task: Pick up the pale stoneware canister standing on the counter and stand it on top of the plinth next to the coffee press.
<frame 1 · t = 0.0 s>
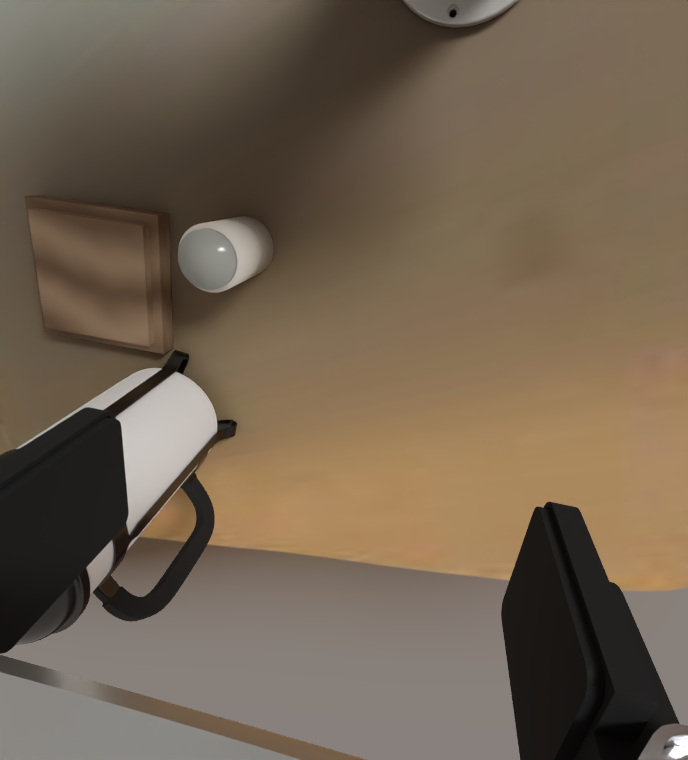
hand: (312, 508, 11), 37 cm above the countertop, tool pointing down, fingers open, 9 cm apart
coffee press: (187, 414, 55), on the countertop
canister: (246, 246, 46), on the countertop
plinth: (109, 274, 50), on the countertop
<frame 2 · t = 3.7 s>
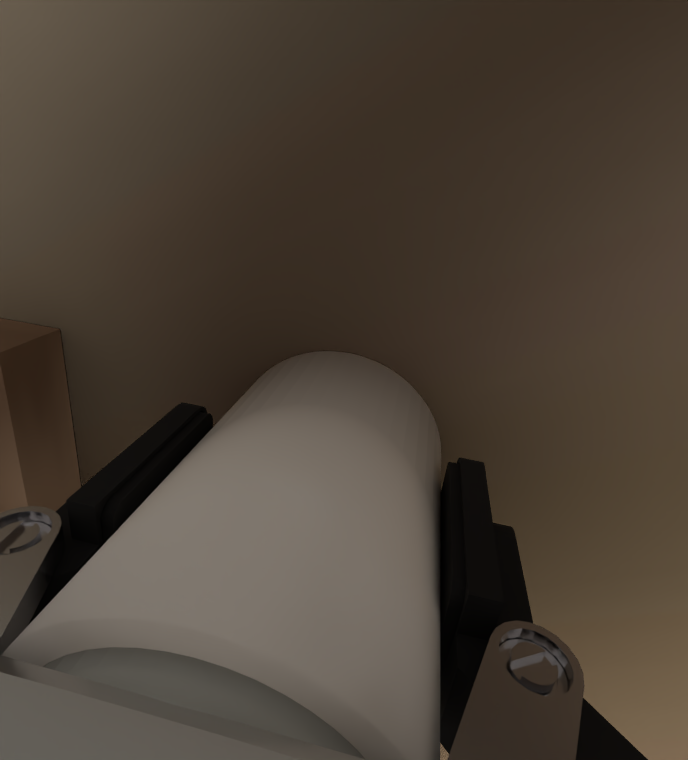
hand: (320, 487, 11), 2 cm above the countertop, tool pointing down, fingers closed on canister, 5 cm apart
canister: (335, 449, 13), on the countertop, touching gripper
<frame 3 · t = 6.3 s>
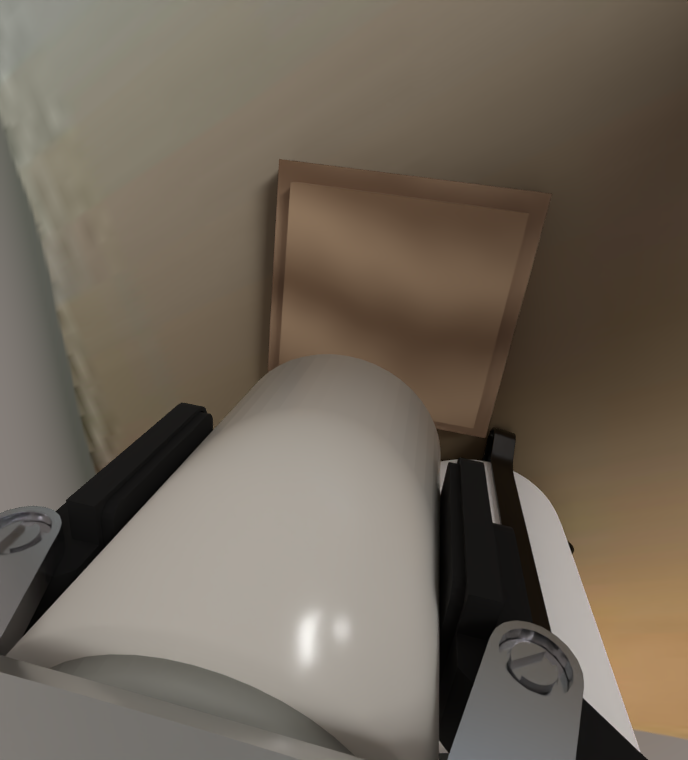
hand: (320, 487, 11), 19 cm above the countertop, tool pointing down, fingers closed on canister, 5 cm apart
coffee press: (476, 523, 34), on the countertop
canister: (334, 452, 13), point 18 cm above the countertop, touching gripper
plinth: (392, 300, 29), on the countertop
when the fingers open (6 cm above the countertop, at t = 9.3 s): canister stays where it is, resting on plinth.
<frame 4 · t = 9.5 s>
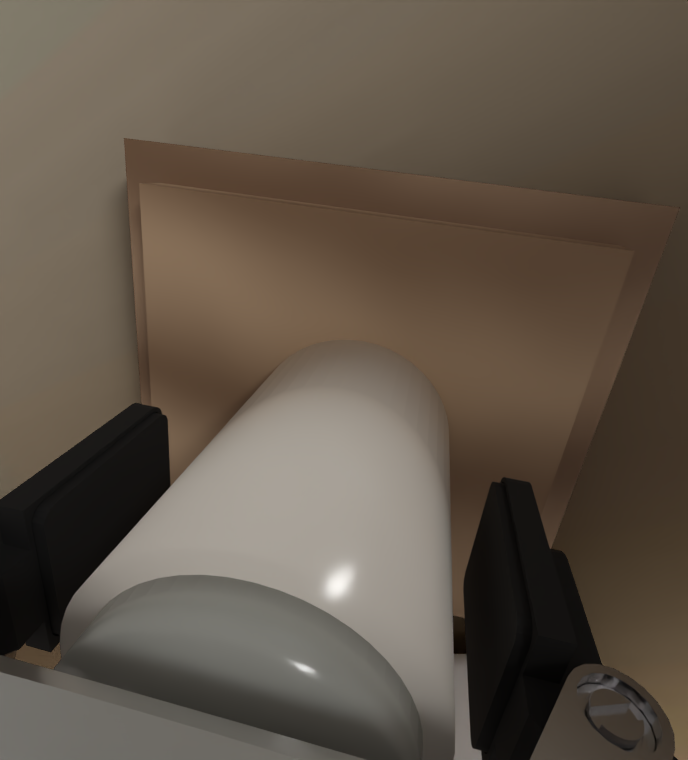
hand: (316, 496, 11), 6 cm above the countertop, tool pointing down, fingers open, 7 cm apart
coffee press: (498, 719, 22), on the countertop
canister: (349, 432, 14), point 3 cm above the countertop, touching plinth
plinth: (358, 390, 17), on the countertop
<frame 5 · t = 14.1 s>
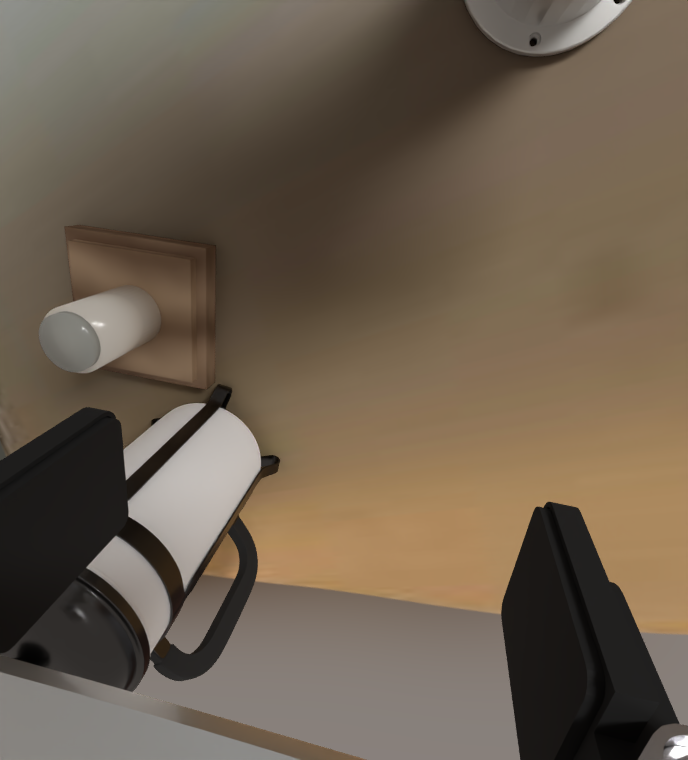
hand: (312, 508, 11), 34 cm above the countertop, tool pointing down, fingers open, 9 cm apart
coffee press: (227, 449, 53), on the countertop
canister: (134, 314, 45), point 3 cm above the countertop, touching plinth
plinth: (149, 306, 48), on the countertop
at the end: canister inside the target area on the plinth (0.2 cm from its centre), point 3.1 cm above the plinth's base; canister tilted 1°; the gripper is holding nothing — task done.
